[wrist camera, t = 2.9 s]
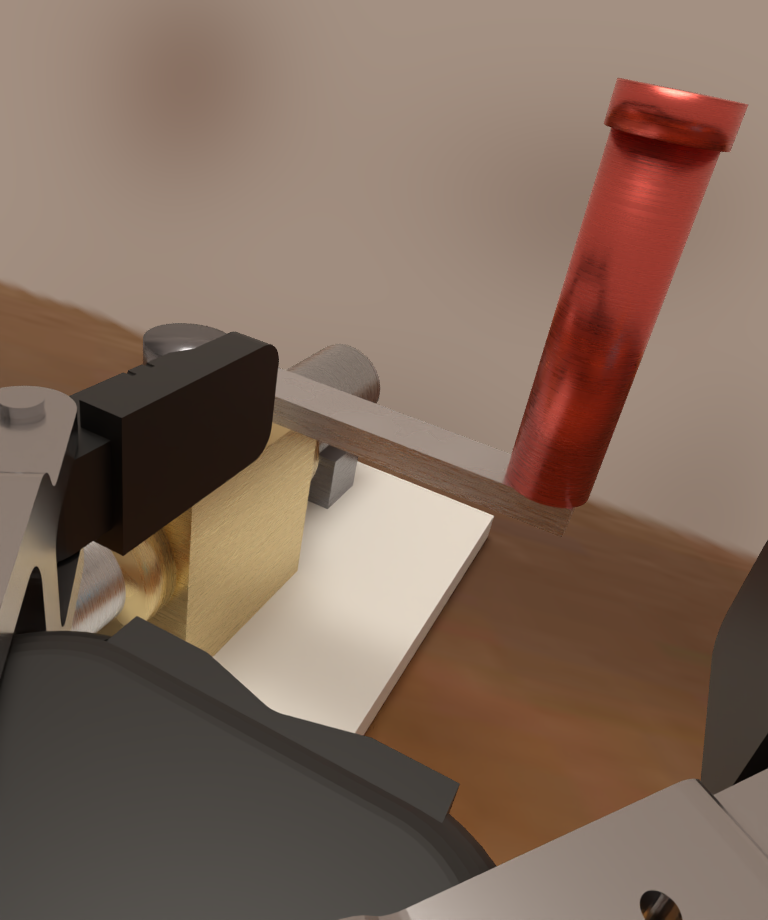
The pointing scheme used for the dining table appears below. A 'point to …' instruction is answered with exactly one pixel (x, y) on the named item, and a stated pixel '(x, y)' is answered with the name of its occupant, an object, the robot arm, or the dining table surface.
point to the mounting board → (356, 600)
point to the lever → (572, 329)
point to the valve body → (229, 532)
